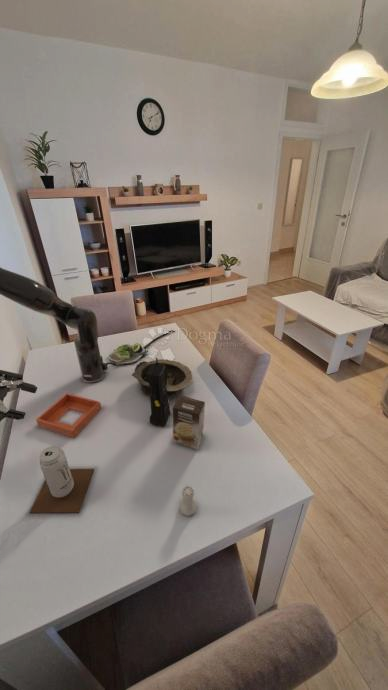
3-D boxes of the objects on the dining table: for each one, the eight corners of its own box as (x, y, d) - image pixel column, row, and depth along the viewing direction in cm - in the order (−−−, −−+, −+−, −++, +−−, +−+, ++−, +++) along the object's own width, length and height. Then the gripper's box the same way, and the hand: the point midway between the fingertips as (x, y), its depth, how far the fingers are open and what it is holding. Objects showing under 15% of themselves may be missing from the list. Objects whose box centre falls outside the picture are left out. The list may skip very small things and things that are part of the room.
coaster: (51, 469, 84) (50, 468, 84) (94, 469, 84) (93, 468, 84) (29, 513, 73) (29, 512, 73) (79, 513, 73) (78, 512, 73)
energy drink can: (69, 499, 76) (56, 463, 68) (47, 499, 76) (32, 463, 68) (77, 479, 81) (66, 444, 73) (57, 479, 81) (44, 443, 74)
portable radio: (164, 429, 99) (161, 372, 86) (148, 426, 100) (143, 369, 87) (170, 414, 105) (168, 358, 93) (155, 411, 106) (151, 356, 94)
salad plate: (131, 371, 130) (130, 362, 127) (100, 363, 135) (98, 355, 133) (151, 351, 145) (150, 344, 143) (122, 345, 151) (121, 337, 149)
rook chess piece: (179, 500, 76) (178, 482, 72) (195, 499, 77) (195, 481, 73) (179, 517, 72) (179, 499, 68) (196, 516, 73) (197, 498, 69)
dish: (68, 399, 112) (66, 392, 110) (101, 408, 108) (100, 401, 106) (38, 426, 99) (35, 419, 97) (73, 438, 95) (71, 431, 93)
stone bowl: (123, 396, 113) (121, 377, 109) (153, 368, 134) (152, 351, 131) (177, 412, 105) (177, 392, 101) (200, 380, 126) (201, 362, 122)
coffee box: (172, 443, 93) (171, 407, 86) (179, 429, 99) (178, 394, 91) (197, 450, 91) (199, 414, 83) (203, 436, 96) (205, 400, 88)
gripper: (-59, 399, 60) (23, 417, 66) (-25, 355, 71) (42, 374, 77) (-60, 418, 64) (17, 433, 70) (-28, 373, 75) (37, 390, 81)
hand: (30, 402), depth 74 cm, fingers open, 8 cm apart
